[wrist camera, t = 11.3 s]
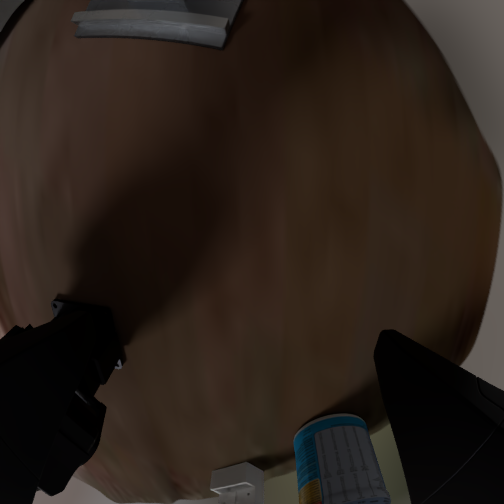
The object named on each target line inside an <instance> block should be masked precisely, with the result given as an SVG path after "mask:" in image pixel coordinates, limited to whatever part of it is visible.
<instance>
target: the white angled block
mask: <svg viewBox="0 0 504 504" xmlns="http://www.w3.org/2000/svg"><path fill="white" fill-rule="evenodd" d="M210 490H212V491H214V492H216V493H219V504H264V471H262V470H260V469H259V468H257V467H255V466H253V465H251V464H250V463H248V462H244V463H241V464H237V465H233V466H230V467H226V468H222V469H218V470H214V471H212V477H211V485H210Z"/></svg>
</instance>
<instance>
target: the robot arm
mask: <svg viewBox="0 0 504 504" xmlns="http://www.w3.org/2000/svg"><path fill="white" fill-rule="evenodd" d="M51 306H52V310H53V313H54V317H55V318H54V319H53V320H52V321H51V322H48V323H46V324H43V325H41V326H38V327H35V328H33V327H32V326H31V324H29V325H28V326H27V327H26V328H25V329H24V328H23V327H22V328H21V327H19V326H17V325H15V326H14V327H13V328H12V329H11V330H10V331H9V332H8V333H7V334H6V335H5V336H4V337H2V338H1V339H0V504H32V503H33V500H34V496H35V493H36V491H39V490H42V491H43V492H45V493H46V494H48V495H49V496H54V495H56V494H58V493H60V492H62V491H63V490H64V489H65V487H66V485H67V483H68V482H69V480H70V478H71V477H72V475H73V474H74V472H75V471H76V470H77V468H78V467H79V466H81V465H83V464H85V463H86V462H87V461H88V460H89V459H90V458H91V457H92V456H93V454H94V453H95V451H96V449H97V447H98V445H99V442H100V437H101V432H102V427H103V422H104V418H105V413H106V408H107V407H106V406H105V405H104V404H103V403H102V402H101V403H100V402H99V401H98V400H97V399H96V398H95V397H94V395H95V393H96V391H97V390H98V388H99V386H100V384H101V385H104V384H106V382H107V381H108V379H109V377H110V375H111V373H112V372H113V370H114V368H116V369H121V368H122V366H123V361H122V357H121V356H122V353H121V349H120V344H119V340H118V336H117V333H116V331H115V327H114V322H113V318H112V313H111V310H110V309H109V308H108V307H104V306H97V305H90V304H84V303H77V302H71V301H65V300H59V299H54V300H53V301H52V302H51ZM104 312H106V313H107V314H105V313H104ZM374 362H375V366H376V371H377V375H378V380H379V385H380V390H381V394H382V399H383V402H384V405H385V408H386V412H387V415H388V418H389V421H390V424H391V428H392V431H393V435H394V438H395V441H396V445H397V448H398V452H399V456H400V459H401V463H402V467H403V471H404V475H405V478H406V482H407V486H408V491H409V495H410V500H411V504H504V391H503V390H501V389H499V388H497V387H495V386H493V385H491V384H489V383H488V382H486V381H484V380H482V379H481V378H479V377H476V376H475V375H473V374H472V373H470V372H468V371H466V370H465V369H463V368H461V367H459V366H458V365H456V364H454V363H452V362H451V361H449V360H447V359H445V358H444V357H442V356H440V355H438V354H437V353H435V352H433V351H431V350H429V349H428V348H426V347H424V346H422V345H421V344H419V343H417V342H415V341H414V340H412V339H410V338H408V337H406V336H405V335H403V334H401V333H399V332H398V331H396V330H393V329H390V330H382V331H381V332H380V334H379V338H378V341H377V344H376V347H375V350H374ZM117 363H118V364H117Z"/></svg>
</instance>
